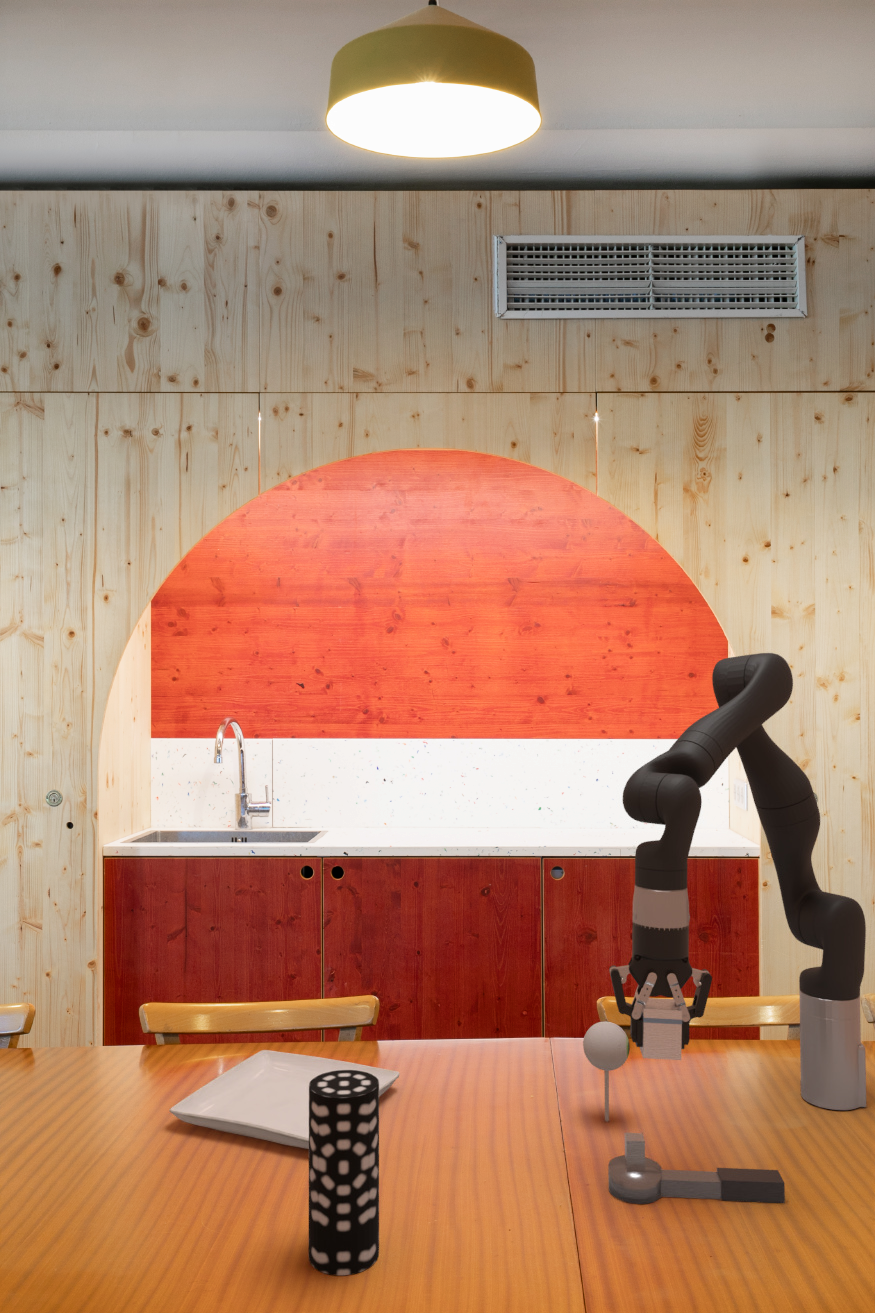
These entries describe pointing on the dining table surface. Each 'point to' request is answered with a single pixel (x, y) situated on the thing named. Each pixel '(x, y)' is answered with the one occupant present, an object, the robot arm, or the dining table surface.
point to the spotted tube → (343, 1171)
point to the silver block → (661, 1029)
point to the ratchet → (686, 1180)
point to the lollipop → (606, 1051)
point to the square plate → (266, 1096)
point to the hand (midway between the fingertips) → (659, 1045)
